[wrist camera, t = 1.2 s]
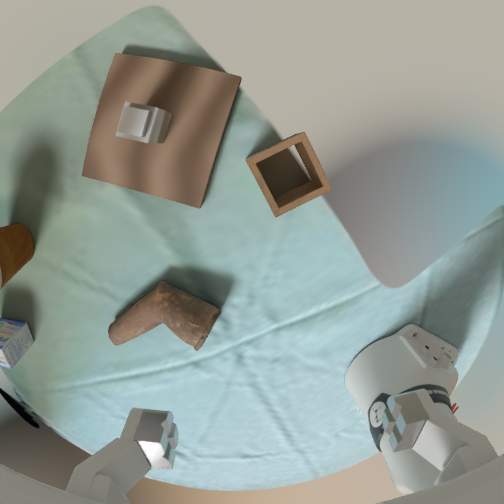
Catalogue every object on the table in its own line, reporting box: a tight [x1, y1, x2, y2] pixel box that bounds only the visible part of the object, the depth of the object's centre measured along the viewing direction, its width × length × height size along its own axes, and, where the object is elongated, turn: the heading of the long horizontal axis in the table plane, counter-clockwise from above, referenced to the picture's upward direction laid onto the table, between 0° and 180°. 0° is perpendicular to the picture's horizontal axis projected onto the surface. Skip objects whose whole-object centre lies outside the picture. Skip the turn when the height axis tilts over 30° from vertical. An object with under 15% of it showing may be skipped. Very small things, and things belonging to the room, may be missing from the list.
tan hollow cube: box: [246, 132, 332, 217], centre depth 33 cm, size 6×6×6 cm
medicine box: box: [0, 318, 34, 369], centre depth 40 cm, size 8×4×9 cm, turn 89°
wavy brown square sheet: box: [82, 53, 241, 208], centre depth 30 cm, size 16×16×8 cm
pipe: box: [108, 281, 221, 351], centre depth 40 cm, size 6×17×10 cm
